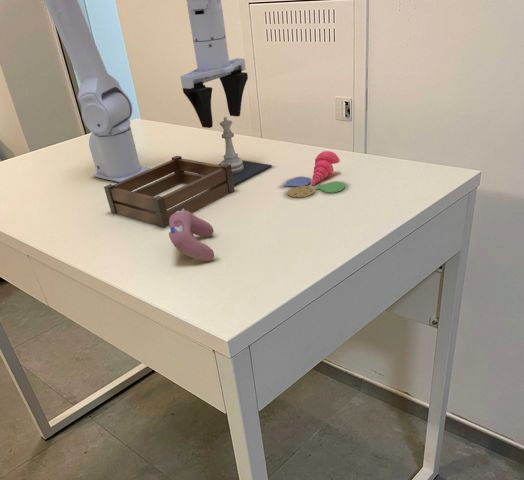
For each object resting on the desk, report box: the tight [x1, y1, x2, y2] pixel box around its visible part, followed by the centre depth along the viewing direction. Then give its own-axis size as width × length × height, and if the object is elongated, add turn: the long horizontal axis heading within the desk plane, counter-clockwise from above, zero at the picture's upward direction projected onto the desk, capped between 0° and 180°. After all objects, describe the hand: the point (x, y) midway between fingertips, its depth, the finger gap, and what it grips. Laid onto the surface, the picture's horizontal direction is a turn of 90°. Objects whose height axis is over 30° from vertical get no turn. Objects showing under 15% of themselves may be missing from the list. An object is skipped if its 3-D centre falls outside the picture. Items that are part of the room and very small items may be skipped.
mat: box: [200, 159, 273, 187], centre depth 108 cm, size 11×11×1 cm
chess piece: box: [219, 116, 244, 174], centre depth 105 cm, size 4×4×10 cm
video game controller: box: [168, 209, 215, 262], centre depth 80 cm, size 10×5×7 cm, turn 5°
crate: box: [103, 155, 236, 228], centre depth 97 cm, size 14×17×5 cm
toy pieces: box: [283, 150, 346, 198], centre depth 97 cm, size 12×11×4 cm
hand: (221, 121), depth 102 cm, fingers open, 7 cm apart
